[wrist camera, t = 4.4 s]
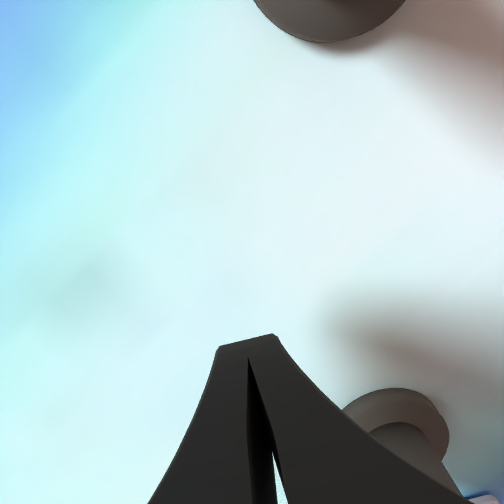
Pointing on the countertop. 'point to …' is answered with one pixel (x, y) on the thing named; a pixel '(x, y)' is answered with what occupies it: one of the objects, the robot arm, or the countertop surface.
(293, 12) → the post
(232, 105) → the countertop surface
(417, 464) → the post
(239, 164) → the countertop surface
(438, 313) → the countertop surface
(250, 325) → the countertop surface
